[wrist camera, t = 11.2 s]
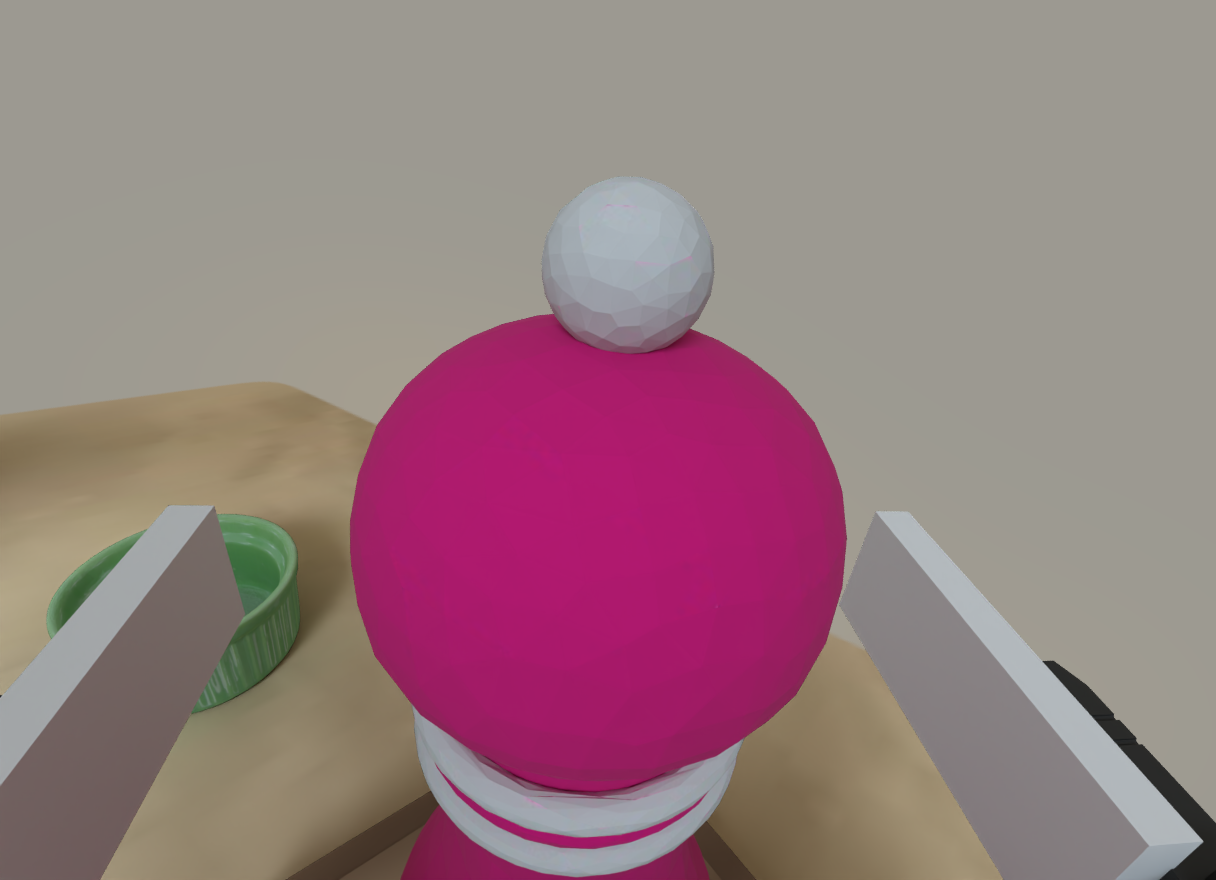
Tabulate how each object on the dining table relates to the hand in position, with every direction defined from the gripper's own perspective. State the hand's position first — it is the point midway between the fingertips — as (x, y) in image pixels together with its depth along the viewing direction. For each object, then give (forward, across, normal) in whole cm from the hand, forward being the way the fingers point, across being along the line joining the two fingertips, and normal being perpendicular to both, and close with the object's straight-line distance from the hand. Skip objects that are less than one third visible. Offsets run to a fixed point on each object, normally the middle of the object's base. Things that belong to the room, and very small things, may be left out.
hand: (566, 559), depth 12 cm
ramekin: (+12, -15, -16) cm, 25 cm away
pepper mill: (-3, 0, -12) cm, 13 cm away
